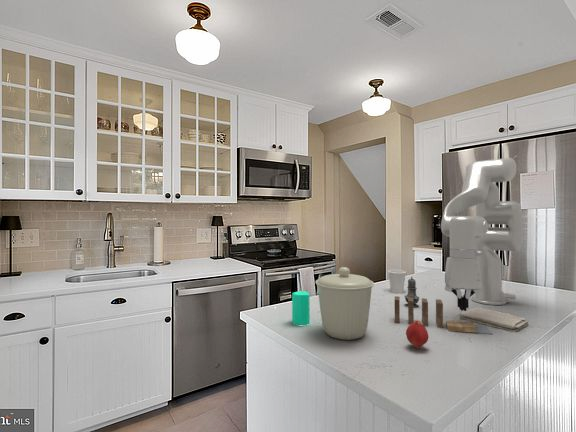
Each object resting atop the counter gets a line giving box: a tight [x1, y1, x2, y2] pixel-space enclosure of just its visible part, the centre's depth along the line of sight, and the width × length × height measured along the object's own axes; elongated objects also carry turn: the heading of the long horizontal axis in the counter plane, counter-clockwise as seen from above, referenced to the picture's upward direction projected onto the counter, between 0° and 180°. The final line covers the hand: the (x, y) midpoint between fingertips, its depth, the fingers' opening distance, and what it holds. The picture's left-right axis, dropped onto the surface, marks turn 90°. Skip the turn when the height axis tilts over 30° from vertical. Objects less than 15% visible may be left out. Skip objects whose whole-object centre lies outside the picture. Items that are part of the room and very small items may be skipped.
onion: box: [405, 319, 430, 349], centre depth 88 cm, size 6×6×8 cm
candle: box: [291, 288, 311, 326], centre depth 109 cm, size 6×6×12 cm
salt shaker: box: [403, 276, 420, 309], centre depth 129 cm, size 6×6×12 cm
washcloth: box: [459, 307, 529, 333], centre depth 109 cm, size 12×18×3 cm, turn 37°
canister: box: [315, 266, 375, 341], centre depth 99 cm, size 18×18×21 cm
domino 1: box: [394, 295, 401, 324], centre depth 111 cm, size 2×5×8 cm, turn 160°
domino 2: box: [407, 297, 415, 325], centre depth 109 cm, size 2×5×8 cm, turn 160°
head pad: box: [473, 323, 493, 335], centre depth 102 cm, size 7×8×1 cm
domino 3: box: [421, 297, 429, 327], centre depth 108 cm, size 2×5×8 cm, turn 160°
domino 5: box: [445, 320, 477, 333], centre depth 102 cm, size 2×5×8 cm
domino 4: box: [435, 299, 444, 329], centre depth 106 cm, size 2×5×8 cm, turn 160°
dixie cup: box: [387, 269, 407, 294], centre depth 152 cm, size 8×8×10 cm
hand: (462, 309), depth 104 cm, fingers closed
